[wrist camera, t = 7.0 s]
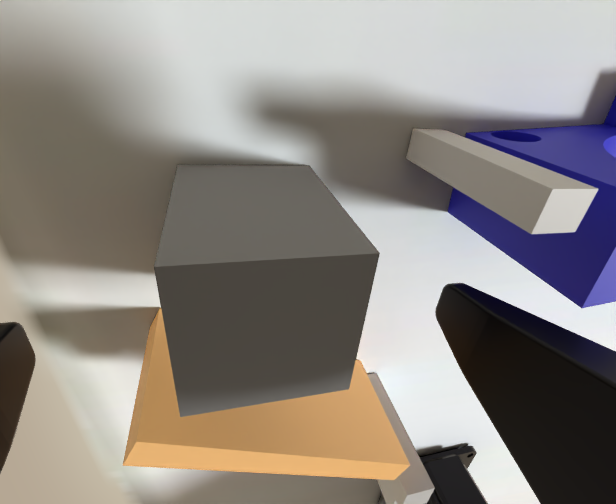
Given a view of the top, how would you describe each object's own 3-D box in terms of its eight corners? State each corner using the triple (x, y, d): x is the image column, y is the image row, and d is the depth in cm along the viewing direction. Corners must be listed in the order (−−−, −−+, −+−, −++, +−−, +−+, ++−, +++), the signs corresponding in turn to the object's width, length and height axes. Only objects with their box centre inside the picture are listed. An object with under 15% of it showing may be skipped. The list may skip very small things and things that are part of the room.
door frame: (367, 405, 19) (417, 520, 15) (347, 409, 19) (391, 527, 14) (444, 129, 12) (599, 188, 7) (413, 128, 11) (552, 189, 7)
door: (360, 360, 17) (410, 465, 13) (339, 386, 17) (380, 493, 13) (159, 307, 12) (136, 442, 8) (141, 344, 13) (111, 485, 9)
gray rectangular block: (300, 268, 13) (349, 389, 9) (190, 275, 12) (180, 417, 8) (308, 165, 11) (379, 253, 7) (177, 164, 10) (153, 266, 6)
